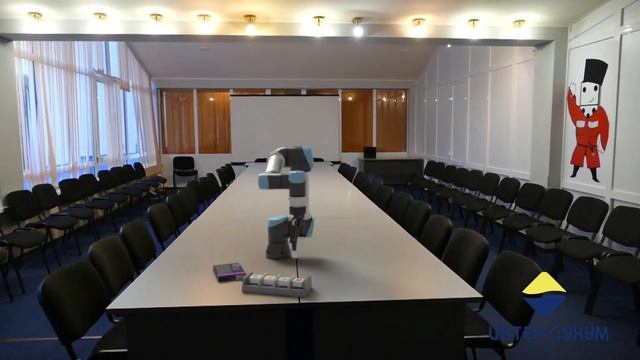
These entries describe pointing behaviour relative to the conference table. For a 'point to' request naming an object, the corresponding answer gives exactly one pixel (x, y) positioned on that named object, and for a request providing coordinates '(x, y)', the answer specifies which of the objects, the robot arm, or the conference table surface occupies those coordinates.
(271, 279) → the key
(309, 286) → the keypad
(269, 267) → the conference table surface
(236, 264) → the box
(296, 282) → the key
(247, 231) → the conference table surface
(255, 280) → the key
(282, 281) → the key
